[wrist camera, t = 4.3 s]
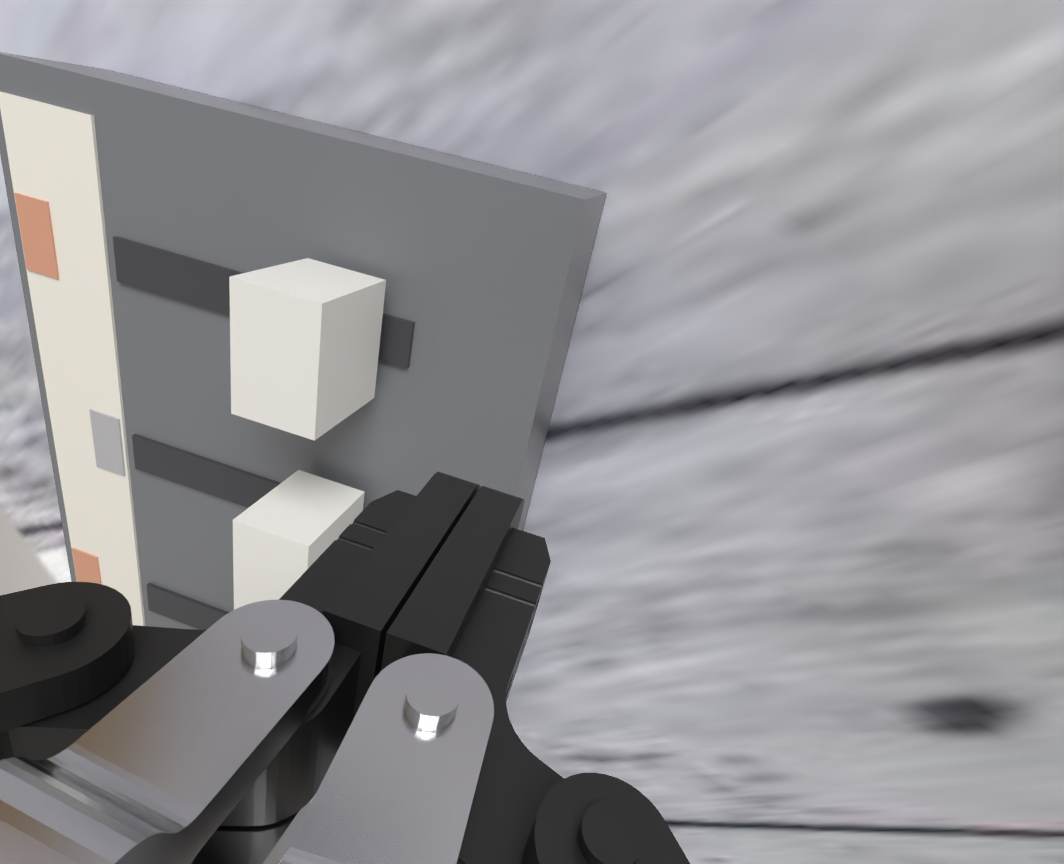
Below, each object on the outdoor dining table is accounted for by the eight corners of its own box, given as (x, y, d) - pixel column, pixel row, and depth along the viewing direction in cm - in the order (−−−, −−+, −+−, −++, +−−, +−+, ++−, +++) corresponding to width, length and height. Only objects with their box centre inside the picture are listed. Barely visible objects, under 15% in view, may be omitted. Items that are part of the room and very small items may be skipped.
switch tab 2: (364, 491, 20) (308, 546, 17) (355, 576, 21) (303, 640, 19) (298, 469, 20) (232, 519, 17) (294, 555, 22) (234, 613, 19)
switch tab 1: (386, 280, 17) (322, 303, 14) (374, 397, 18) (314, 441, 15) (307, 257, 17) (229, 276, 14) (302, 375, 19) (231, 413, 16)
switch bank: (606, 193, 19) (584, 200, 15) (476, 716, 29) (444, 796, 25) (104, 69, 21) (-24, 48, 17) (152, 594, 32) (79, 651, 28)
